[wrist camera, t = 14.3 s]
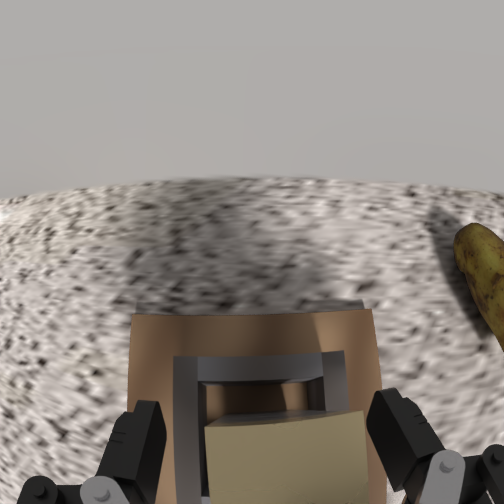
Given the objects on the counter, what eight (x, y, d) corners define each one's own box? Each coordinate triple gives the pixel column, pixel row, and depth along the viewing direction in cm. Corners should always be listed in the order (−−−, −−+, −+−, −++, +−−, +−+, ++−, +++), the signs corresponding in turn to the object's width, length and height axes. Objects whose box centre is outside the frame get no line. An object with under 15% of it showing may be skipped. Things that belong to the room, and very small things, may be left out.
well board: (366, 313, 20) (396, 286, 16) (379, 511, 13) (414, 531, 9) (136, 318, 20) (109, 292, 15) (139, 524, 13) (112, 550, 8)
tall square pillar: (287, 409, 16) (363, 410, 6) (290, 455, 15) (368, 521, 4) (227, 413, 16) (204, 426, 6) (230, 459, 15) (215, 542, 4)
